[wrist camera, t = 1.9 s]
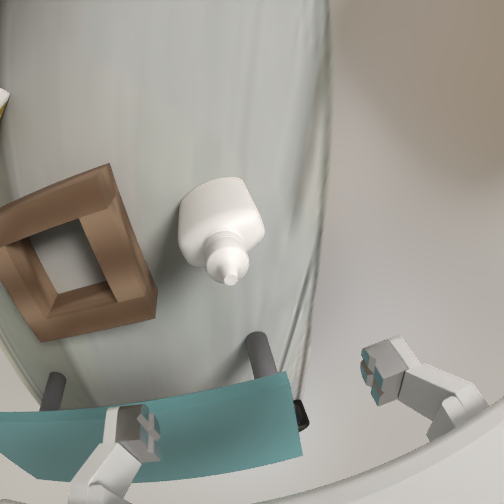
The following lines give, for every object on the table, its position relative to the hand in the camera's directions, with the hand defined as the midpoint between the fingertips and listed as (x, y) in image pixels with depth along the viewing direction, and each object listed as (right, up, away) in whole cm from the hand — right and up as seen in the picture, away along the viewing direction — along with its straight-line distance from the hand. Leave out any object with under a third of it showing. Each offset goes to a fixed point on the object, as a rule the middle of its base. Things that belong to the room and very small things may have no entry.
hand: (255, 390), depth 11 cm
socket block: (-17, +5, +16) cm, 23 cm away
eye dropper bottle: (-3, +9, +16) cm, 19 cm away
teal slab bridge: (-13, -4, +22) cm, 26 cm away
